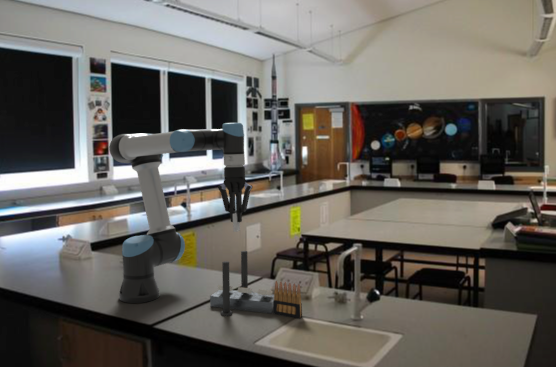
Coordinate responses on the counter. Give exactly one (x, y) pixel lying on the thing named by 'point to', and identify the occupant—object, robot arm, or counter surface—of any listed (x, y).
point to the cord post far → (244, 269)
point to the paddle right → (265, 292)
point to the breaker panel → (244, 301)
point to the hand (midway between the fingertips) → (236, 231)
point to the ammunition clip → (287, 301)
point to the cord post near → (226, 290)
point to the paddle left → (220, 287)
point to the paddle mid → (244, 290)
